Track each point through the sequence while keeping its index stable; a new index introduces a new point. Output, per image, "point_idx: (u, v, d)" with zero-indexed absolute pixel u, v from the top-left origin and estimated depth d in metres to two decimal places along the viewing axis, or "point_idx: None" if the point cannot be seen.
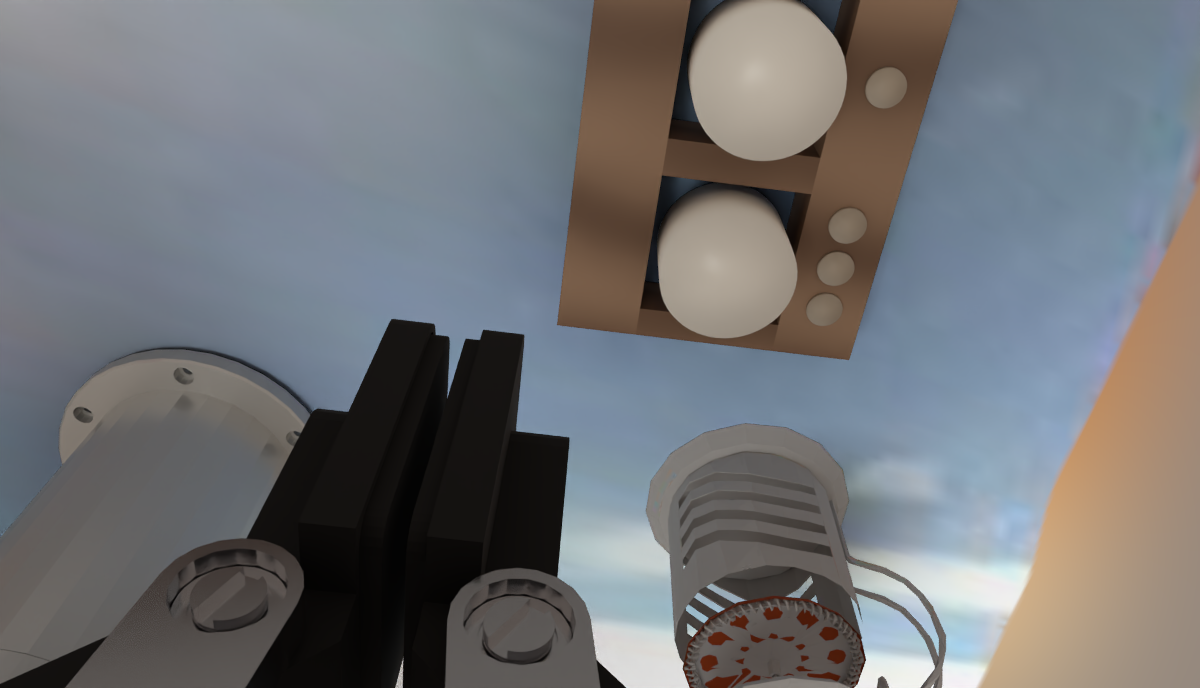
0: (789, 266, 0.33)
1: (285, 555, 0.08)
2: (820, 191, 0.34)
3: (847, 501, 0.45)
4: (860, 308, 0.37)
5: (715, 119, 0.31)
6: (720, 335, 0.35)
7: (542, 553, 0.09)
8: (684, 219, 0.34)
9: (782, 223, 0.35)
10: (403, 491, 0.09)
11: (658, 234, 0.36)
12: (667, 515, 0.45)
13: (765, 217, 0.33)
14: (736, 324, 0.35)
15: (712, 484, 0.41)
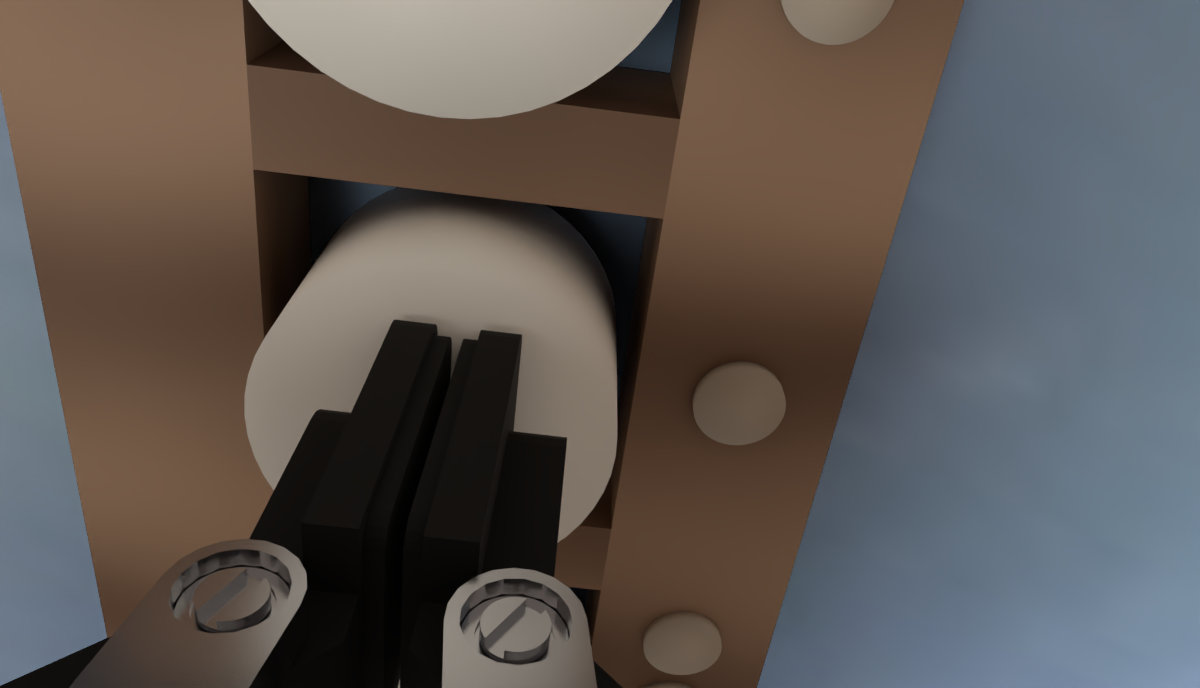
0: None
1: (288, 556, 0.08)
2: (620, 585, 0.16)
3: None
4: None
5: None
6: None
7: (539, 553, 0.09)
8: None
9: None
10: (406, 491, 0.09)
11: None
12: None
13: None
14: None
15: None
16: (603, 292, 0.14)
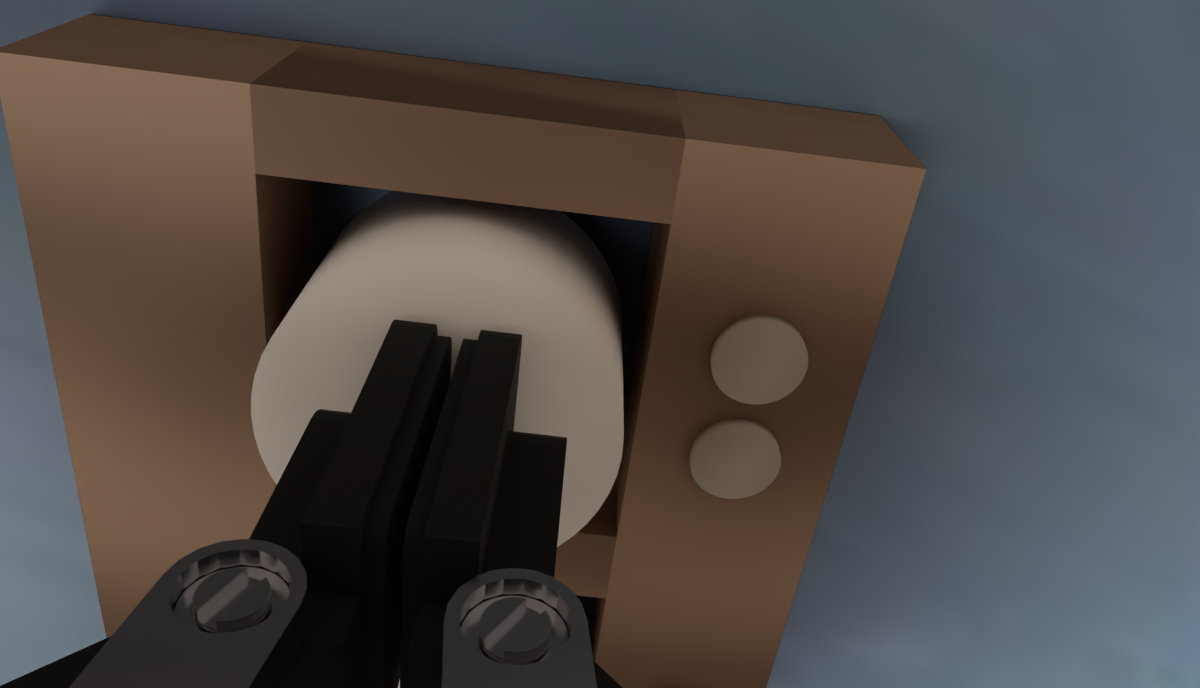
0: None
1: (288, 555, 0.08)
2: None
3: None
4: None
5: None
6: None
7: (539, 552, 0.09)
8: None
9: None
10: (405, 491, 0.09)
11: None
12: None
13: None
14: None
15: None
16: None
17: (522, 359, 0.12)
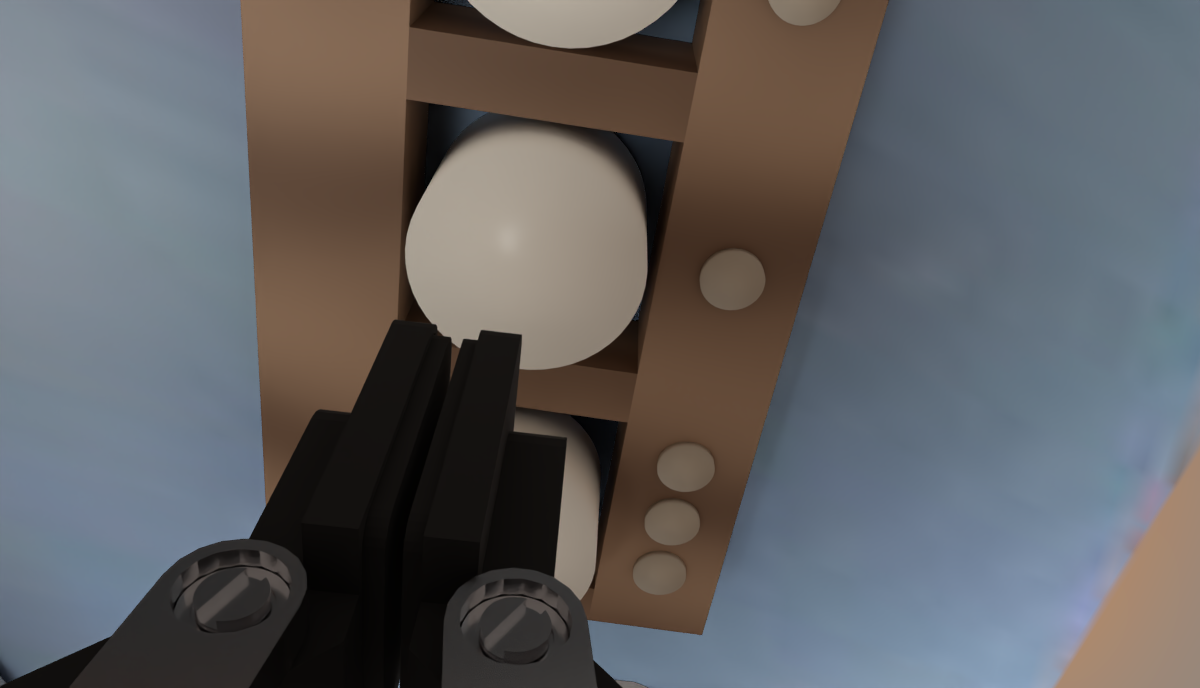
0: (582, 544, 0.21)
1: (288, 555, 0.08)
2: (641, 418, 0.22)
3: None
4: (714, 572, 0.25)
5: (448, 309, 0.20)
6: None
7: (539, 553, 0.09)
8: None
9: (590, 455, 0.23)
10: (406, 491, 0.09)
11: None
12: None
13: None
14: None
15: None
16: (639, 183, 0.21)
17: None
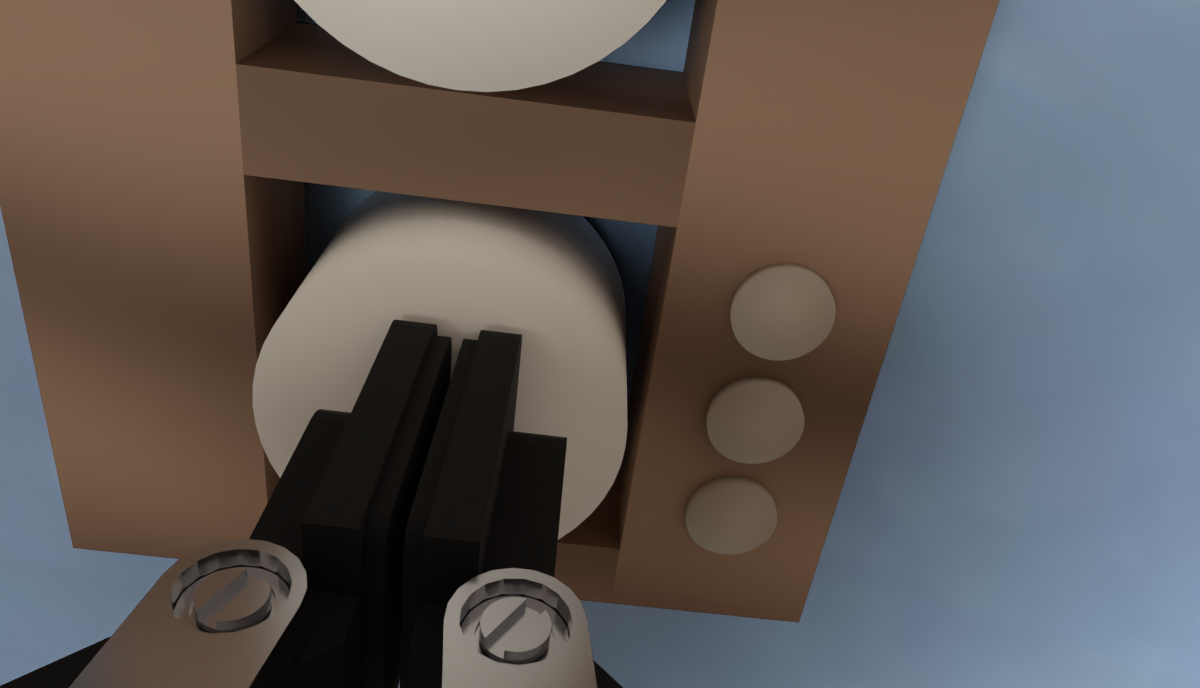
0: (603, 395, 0.12)
1: (288, 556, 0.08)
2: (703, 219, 0.12)
3: None
4: (823, 512, 0.14)
5: None
6: None
7: (540, 552, 0.09)
8: (318, 265, 0.12)
9: (610, 270, 0.14)
10: (406, 492, 0.09)
11: None
12: None
13: (529, 259, 0.12)
14: None
15: None
16: None
17: None
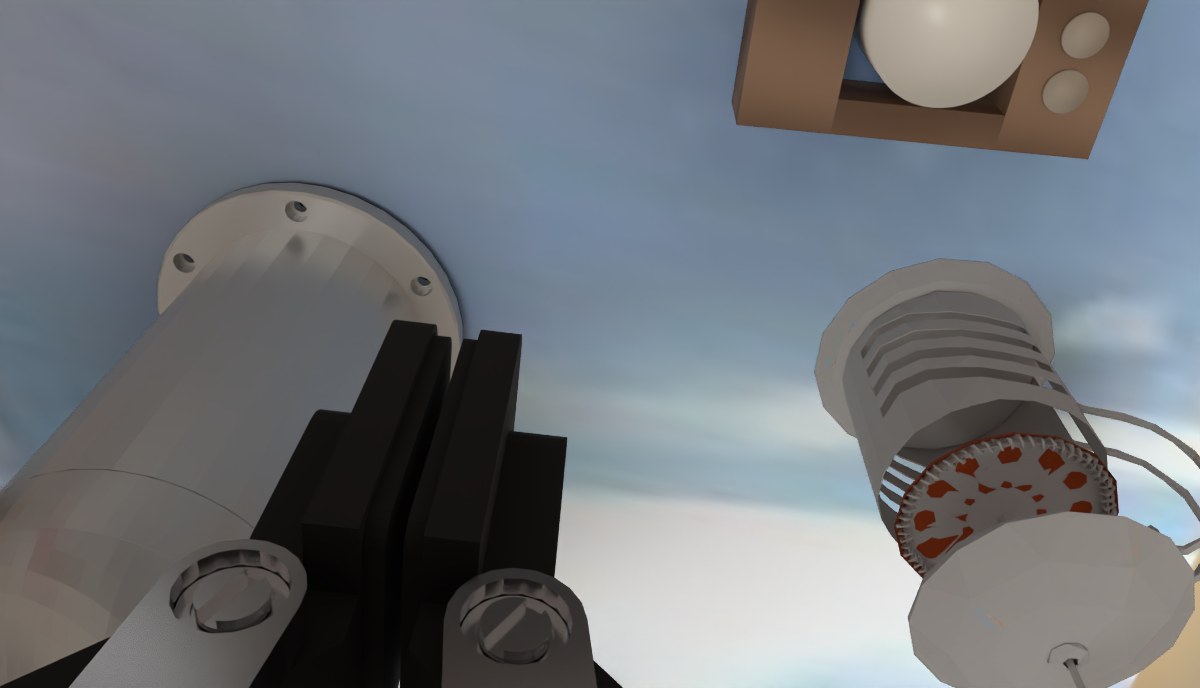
0: (1029, 9, 0.28)
1: (288, 555, 0.08)
2: None
3: (1053, 354, 0.38)
4: (1109, 89, 0.30)
5: None
6: (937, 104, 0.30)
7: (539, 553, 0.09)
8: None
9: None
10: (406, 491, 0.09)
11: None
12: (842, 373, 0.39)
13: None
14: (958, 88, 0.30)
15: (906, 326, 0.35)
16: None
17: None
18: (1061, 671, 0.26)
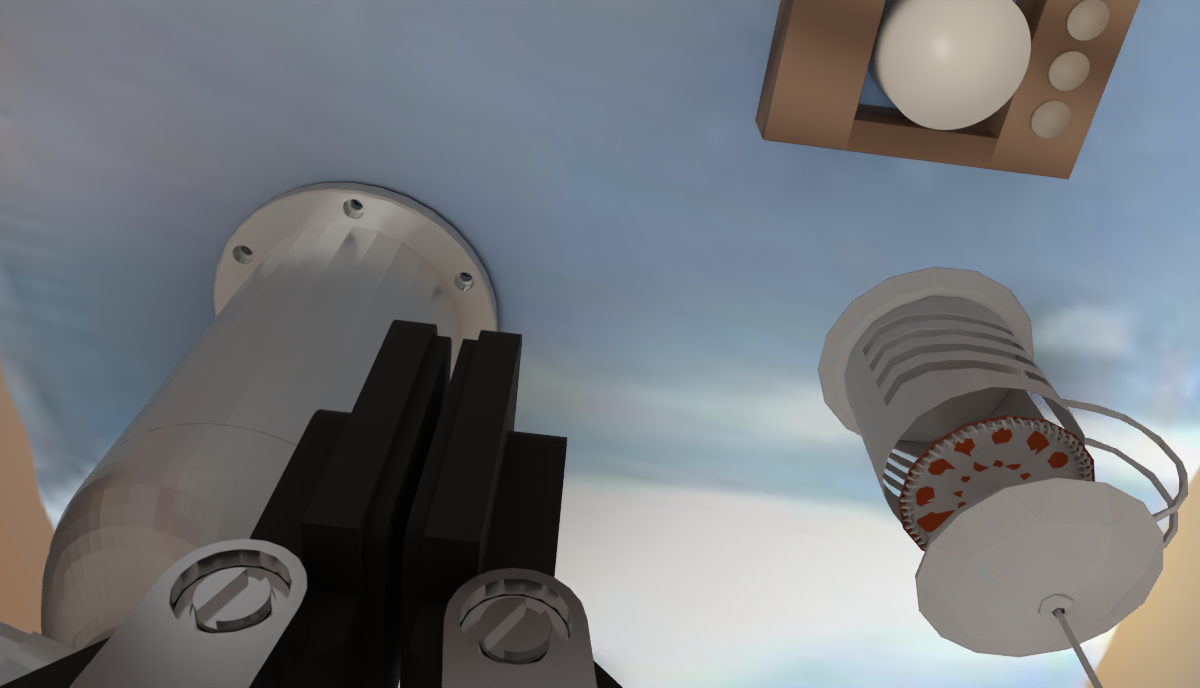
0: (1022, 46, 0.33)
1: (288, 556, 0.08)
2: None
3: (1032, 356, 0.43)
4: (1088, 118, 0.35)
5: None
6: (941, 126, 0.34)
7: (539, 553, 0.09)
8: None
9: None
10: (406, 491, 0.09)
11: None
12: (844, 370, 0.43)
13: None
14: (960, 113, 0.34)
15: (905, 325, 0.39)
16: None
17: None
18: (1050, 620, 0.30)
